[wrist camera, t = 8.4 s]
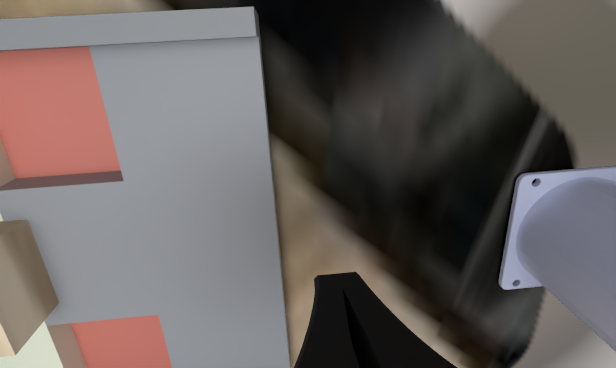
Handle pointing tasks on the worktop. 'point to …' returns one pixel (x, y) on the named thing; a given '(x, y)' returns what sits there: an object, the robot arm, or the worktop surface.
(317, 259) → the worktop surface
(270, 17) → the worktop surface
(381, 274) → the worktop surface
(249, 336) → the trap tray
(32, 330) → the maple block
